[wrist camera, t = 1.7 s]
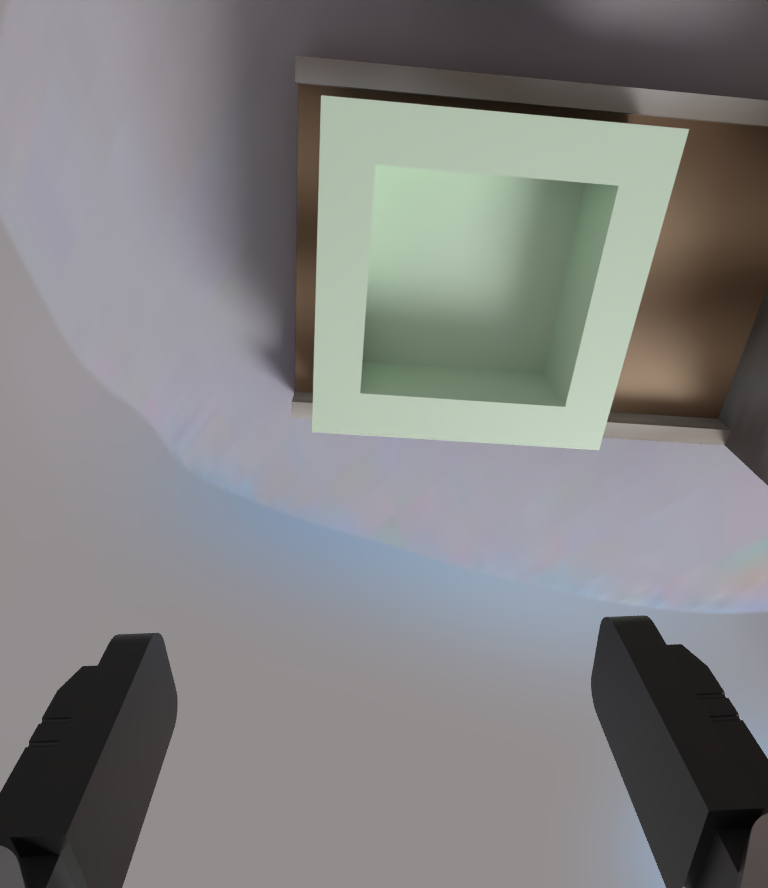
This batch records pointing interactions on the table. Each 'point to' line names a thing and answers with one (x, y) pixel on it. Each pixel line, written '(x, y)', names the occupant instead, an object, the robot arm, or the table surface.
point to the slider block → (480, 269)
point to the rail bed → (674, 262)
